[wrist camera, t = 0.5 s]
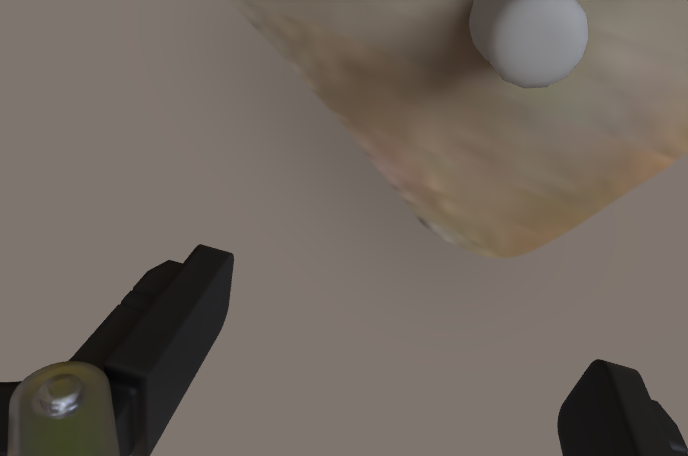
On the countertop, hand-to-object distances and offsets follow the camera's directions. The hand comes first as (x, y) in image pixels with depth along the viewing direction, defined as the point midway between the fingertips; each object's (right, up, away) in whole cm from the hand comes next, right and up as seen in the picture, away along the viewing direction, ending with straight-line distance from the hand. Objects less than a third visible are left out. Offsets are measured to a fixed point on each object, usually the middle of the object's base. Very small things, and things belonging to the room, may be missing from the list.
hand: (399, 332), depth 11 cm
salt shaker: (+10, +16, +22) cm, 29 cm away
